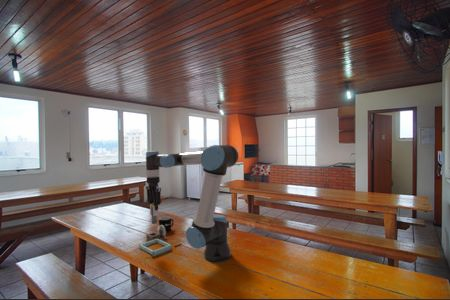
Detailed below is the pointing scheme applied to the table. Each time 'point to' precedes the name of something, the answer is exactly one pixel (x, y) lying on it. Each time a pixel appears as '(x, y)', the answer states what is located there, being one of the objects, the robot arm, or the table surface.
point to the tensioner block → (157, 234)
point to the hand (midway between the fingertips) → (154, 214)
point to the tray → (158, 251)
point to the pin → (154, 218)
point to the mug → (166, 222)
